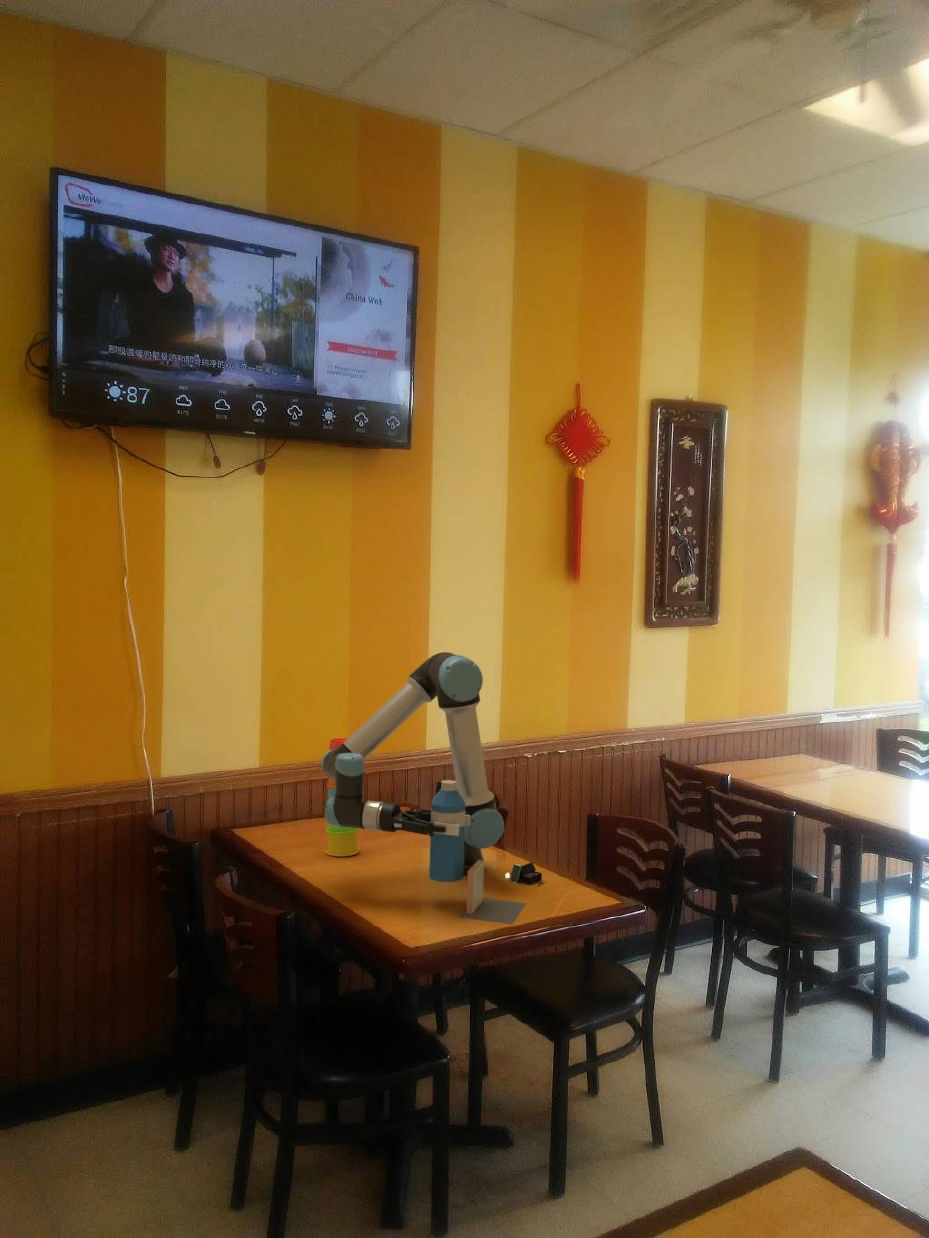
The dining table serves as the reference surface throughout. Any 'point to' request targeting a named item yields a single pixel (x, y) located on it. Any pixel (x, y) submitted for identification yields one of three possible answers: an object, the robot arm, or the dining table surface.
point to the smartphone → (525, 874)
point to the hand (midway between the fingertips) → (464, 825)
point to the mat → (495, 911)
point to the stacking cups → (340, 838)
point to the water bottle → (447, 847)
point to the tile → (475, 886)
